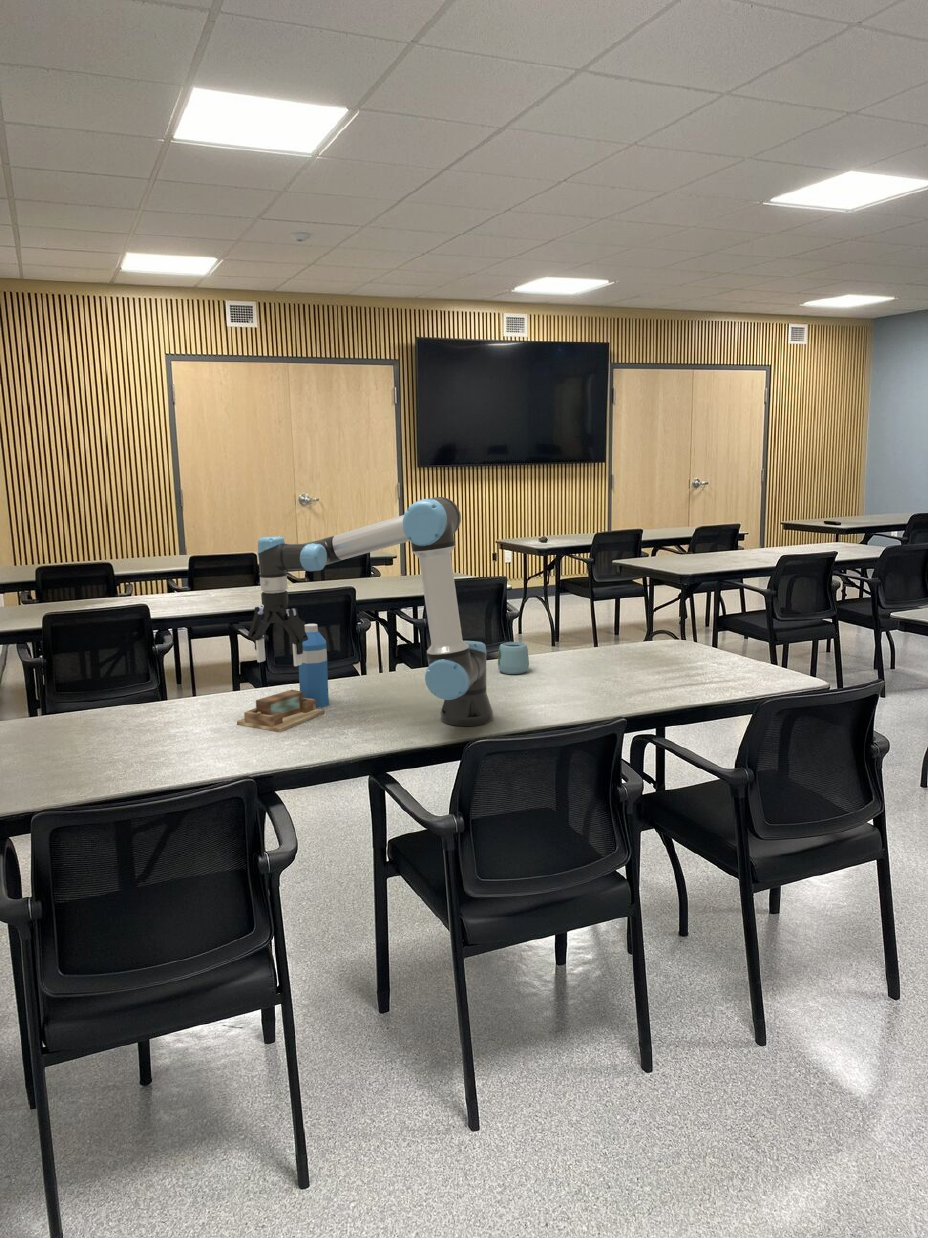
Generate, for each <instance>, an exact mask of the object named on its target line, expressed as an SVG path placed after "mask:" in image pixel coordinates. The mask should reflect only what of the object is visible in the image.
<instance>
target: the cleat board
mask: <svg viewBox="0 0 928 1238" xmlns="http://www.w3.org/2000/svg"><path fill="white" fill-rule="evenodd" d="M301 704H302V712H299V713H296V714H293V715H290V716H287V717H284V718H283V717H282V712H277V713H274V714H272V715H266V714H261V712H260V711H259V712H256V707H255V708H252V709H250V710H247V711H244V713H243V714H244V717H243V718H241V719H239V720H237V721H236V725H239V726H244V727H249V728H255V729H260V730H261V729H262V730H267V731H273V732H277V733H281V732H283V731H287V730H289V729H291V728H293V727H296V726H298V725H300V724H303V723H305V722H308V721H310V720H313V719H315V718H317V717H319V716H321V715H324V714H325V710H324V709H318V708H316V703H315V699H309V698H303V702H302V703H301Z"/></svg>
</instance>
